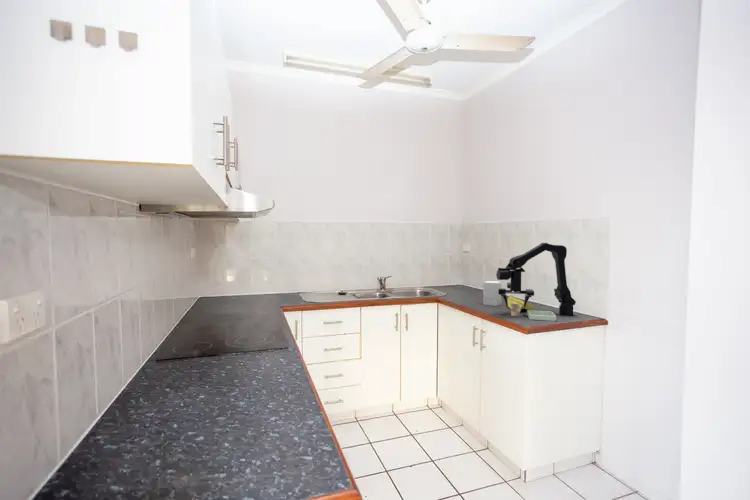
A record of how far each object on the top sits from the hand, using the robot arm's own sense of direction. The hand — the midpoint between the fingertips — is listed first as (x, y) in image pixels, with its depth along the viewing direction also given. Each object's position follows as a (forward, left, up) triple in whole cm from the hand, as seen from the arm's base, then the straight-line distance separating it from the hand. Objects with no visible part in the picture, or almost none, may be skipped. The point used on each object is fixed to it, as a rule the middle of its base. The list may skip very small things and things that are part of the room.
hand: (515, 307), depth 210 cm
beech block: (0, 0, -5) cm, 5 cm away
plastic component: (-4, -18, -5) cm, 19 cm away
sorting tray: (-13, +4, -5) cm, 14 cm away
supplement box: (+12, -29, -5) cm, 32 cm away
